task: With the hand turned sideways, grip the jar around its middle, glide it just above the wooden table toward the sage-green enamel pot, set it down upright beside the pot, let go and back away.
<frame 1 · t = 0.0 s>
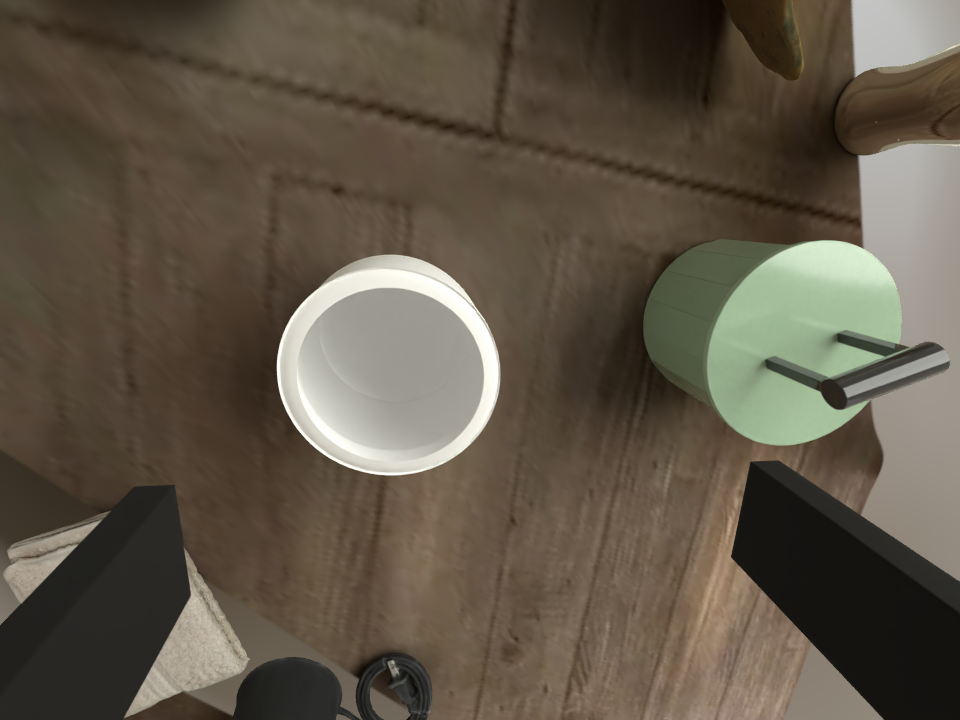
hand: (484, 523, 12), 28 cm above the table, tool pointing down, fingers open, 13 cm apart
pot lid: (800, 346, 33), point 9 cm above the table, touching pot
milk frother: (336, 684, 47), on the table
washcloth: (143, 599, 42), on the table
pot: (715, 317, 42), on the table
beer glass: (866, 113, 39), on the table
jar: (396, 315, 38), on the table
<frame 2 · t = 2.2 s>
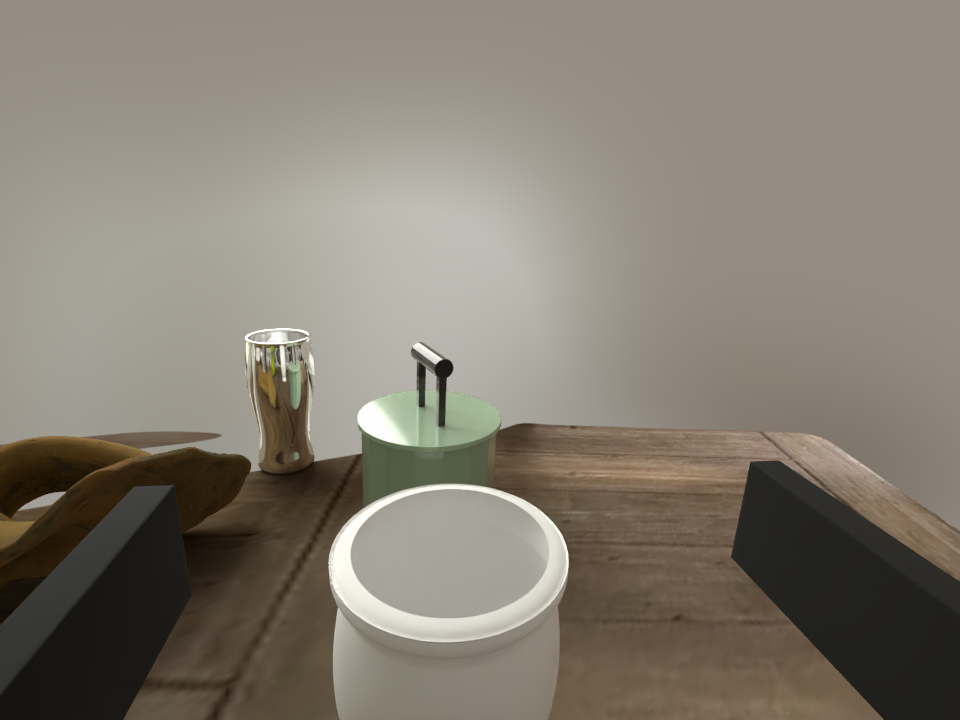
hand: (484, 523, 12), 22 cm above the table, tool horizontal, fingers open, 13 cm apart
pot lid: (430, 419, 49), point 9 cm above the table, touching pot
pot: (428, 505, 51), on the table
beer glass: (287, 463, 59), on the table
brown looped sculpture: (69, 568, 41), on the table
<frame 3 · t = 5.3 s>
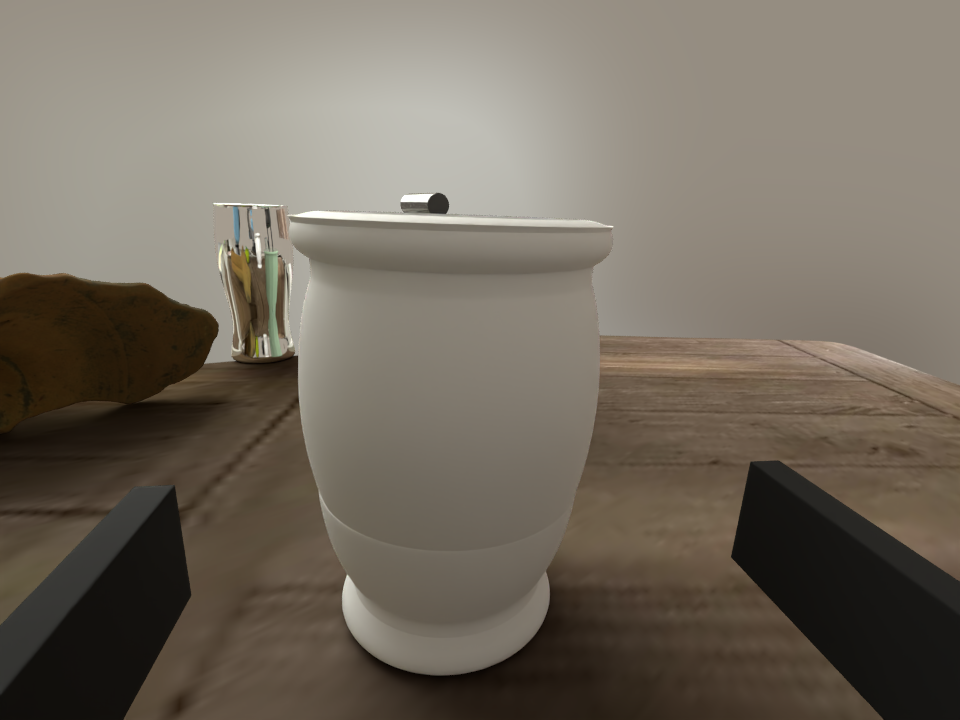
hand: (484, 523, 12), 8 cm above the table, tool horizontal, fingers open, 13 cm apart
pot lid: (423, 278, 43), point 9 cm above the table, touching pot
beer glass: (264, 357, 53), on the table
brown looped sculpture: (0, 427, 35), on the table
jar: (447, 595, 21), on the table
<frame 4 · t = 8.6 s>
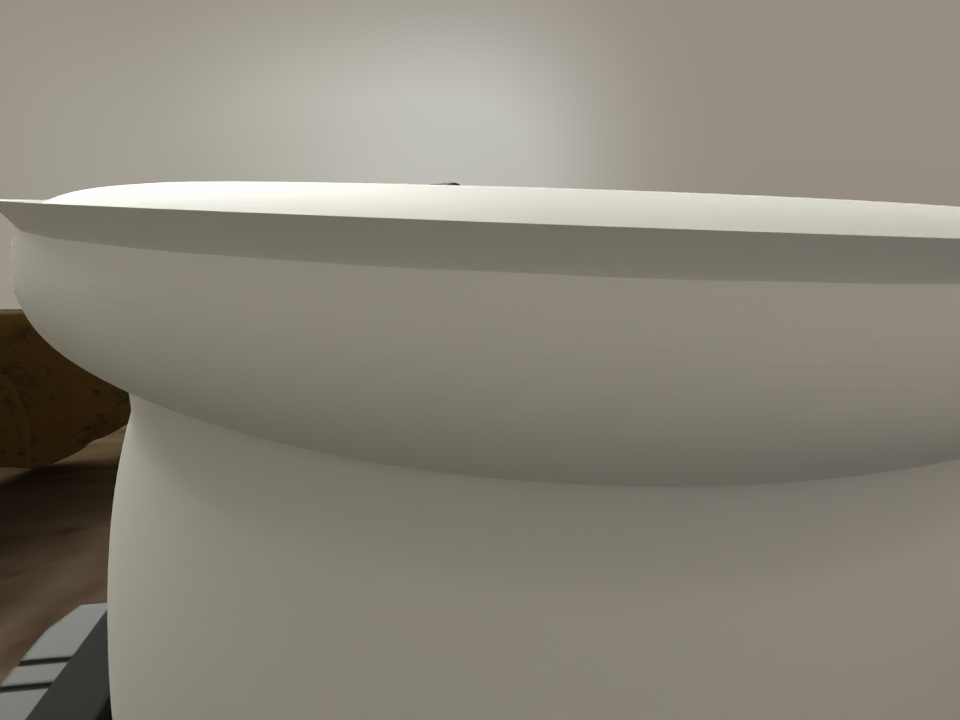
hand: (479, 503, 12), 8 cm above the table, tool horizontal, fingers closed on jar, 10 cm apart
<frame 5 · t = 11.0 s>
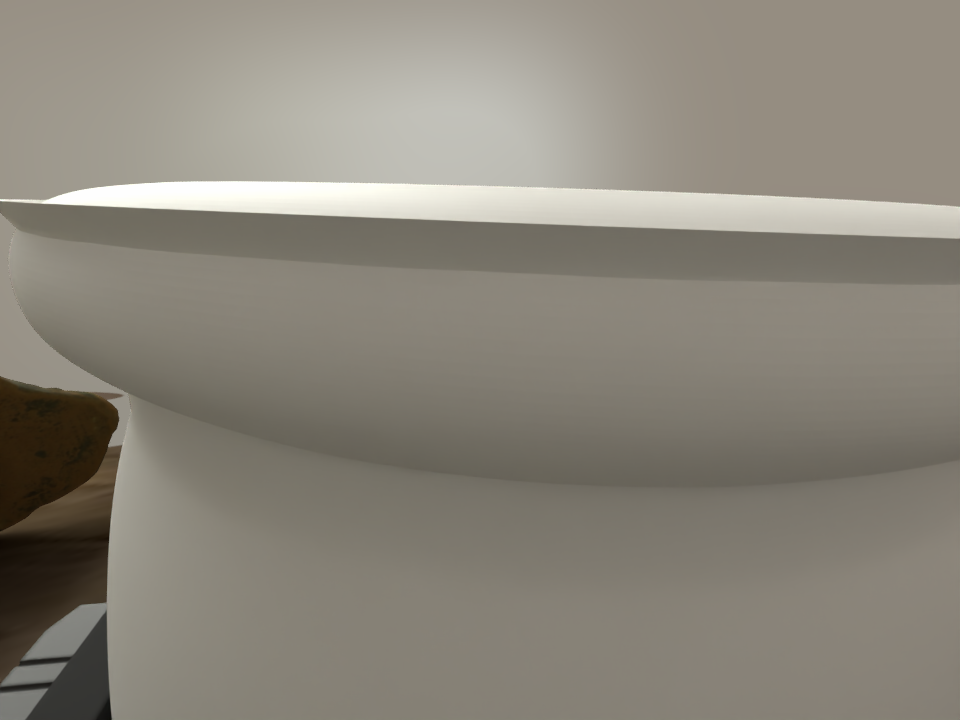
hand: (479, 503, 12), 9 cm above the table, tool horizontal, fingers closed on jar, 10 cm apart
when the fingers open (8 cm above the table, at t = 13.7 s): jar stays where it is, on the table.
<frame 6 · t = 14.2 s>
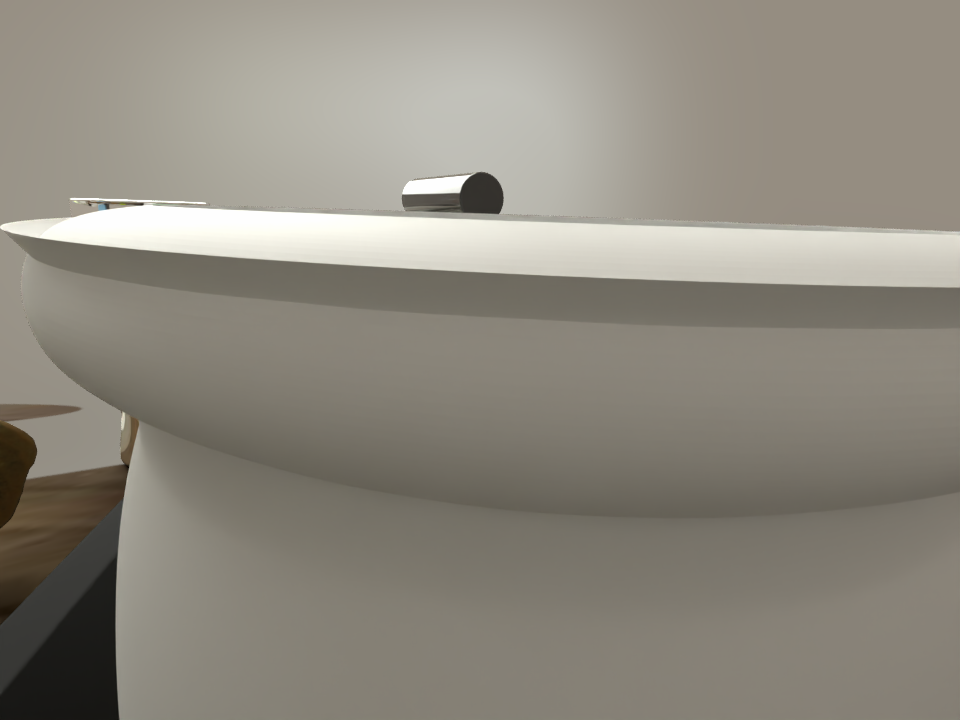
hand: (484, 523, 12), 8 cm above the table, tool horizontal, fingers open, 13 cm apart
pot lid: (445, 341, 22), point 9 cm above the table, touching pot
beer glass: (179, 450, 32), on the table
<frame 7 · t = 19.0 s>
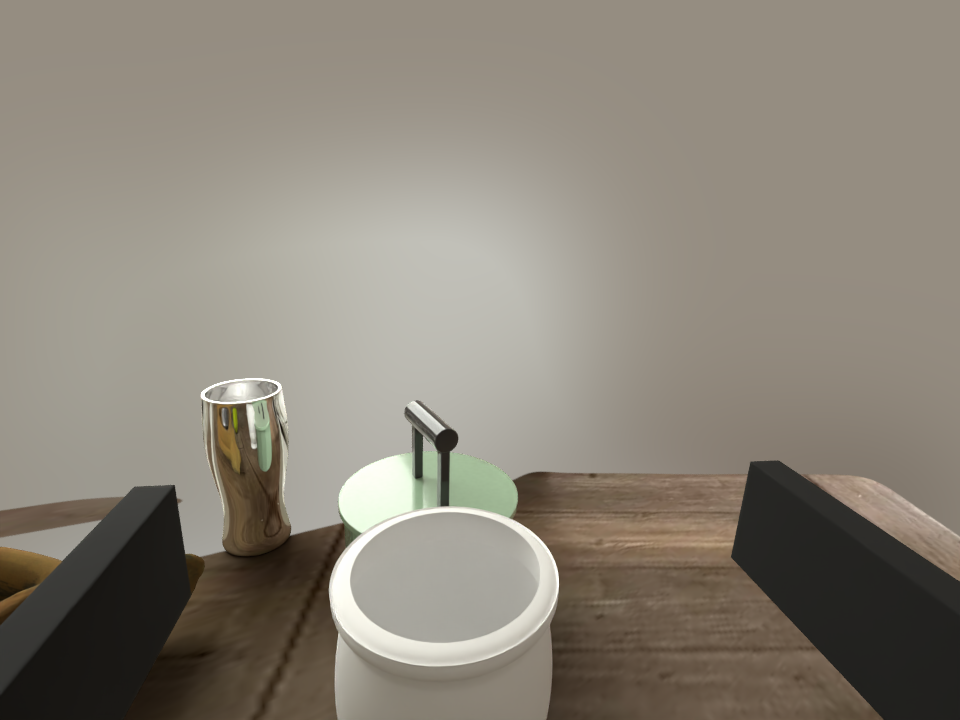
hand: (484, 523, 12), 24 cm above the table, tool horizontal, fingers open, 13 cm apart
pot lid: (429, 496, 39), point 9 cm above the table, touching pot
beer glass: (258, 538, 49), on the table
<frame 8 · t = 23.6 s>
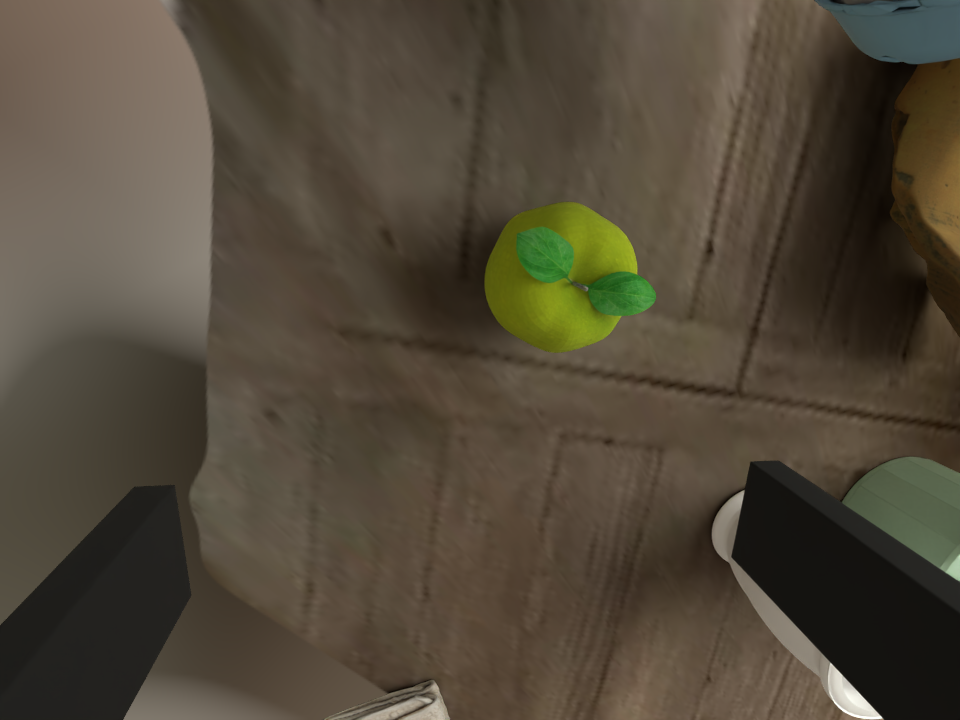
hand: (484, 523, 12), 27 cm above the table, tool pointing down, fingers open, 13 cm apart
pot: (892, 515, 49), on the table
fruit: (537, 268, 38), on the table
brown looped sculpture: (909, 199, 40), on the table
jar: (750, 522, 47), on the table
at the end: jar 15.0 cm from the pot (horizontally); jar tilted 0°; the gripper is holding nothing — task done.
